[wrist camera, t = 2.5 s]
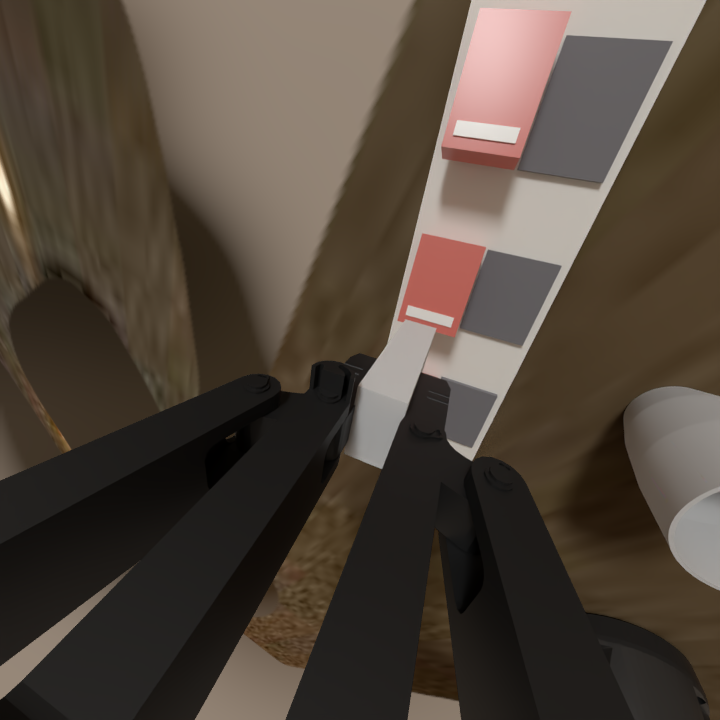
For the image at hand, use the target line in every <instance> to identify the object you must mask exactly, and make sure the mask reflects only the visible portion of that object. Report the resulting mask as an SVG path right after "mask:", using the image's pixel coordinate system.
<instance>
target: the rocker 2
mask: <svg viewBox="0 0 720 720" xmlns="http://www.w3.org/2000/svg"><path fill="white" fill-rule="evenodd" d="M571 12H572V11H548V10H523V9H497V8H480V10H479V14H478V17H477V21H476V24H475V28H474V31H473V35H472V38H471V42H470V46H469V49H468V53H467V56H466V60H465V63H464V67H463V70H462V74H461V78H460V81H459V85H458V88H457V92H456V95H455V99H454V102H453V106H452V110H451V113H450V117H449V120H448V124H447V127H446V131H445V134H444V138H443V142H442V145H441V151H442V159H446V160H452V161H459V162H465V163H471V164H478V165H484V166H490V167H497V168H503V169H510V170H514V169H515V167H516V165H517V163H518V161H519V159H520V156H521V154H522V151H523V148H524V145H525V142H526V139H527V137H528V134H529V131H530V128H531V125H532V122H533V120H534V117H535V114H536V111H537V108H538V105H539V103H540V100H541V97H542V94H543V91H544V89H545V86H546V83H547V80H548V77H549V74H550V72H551V69H552V66H553V63H554V60H555V57H556V55H557V52H558V49H559V46H560V43H561V40H562V38H563V35H564V32H565V29H566V26H567V23H568V21H569V18H570V15H571Z"/></svg>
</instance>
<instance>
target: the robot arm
mask: <svg viewBox="0 0 720 720" xmlns="http://www.w3.org/2000/svg"><path fill="white" fill-rule="evenodd" d="M436 329H437V328H434V327H431V326H427V325H424V324H420V323H417V322H413V321H410V320H406V319H405V321H404V322H403V324H402V325H401V326H400V328H399V329H398V331H397V332H396V333H395V335H394V336H393V338H392V339H391V340H390V342H389V343H388V345H387V346H386V347H385V349H384V350H383V352H382V353H381V354H380V356H379V357H378V359H376V358H373V357H370V356H367V355H364V354H361V353H360V354H357V355H354V356H352V357H350V358H349V359H348V360H347V361H346V362H345V364H343V363H340V362H336V361H321V362H317V363H315V364H313V365H312V370H311V379H310V388H309V390H308V391H307V392H306V393H303V394H302V393H291V392H284V391H281V385H280V382H279V381H278V380H277V379H276V378H274V377H272V376H269V375H265V374H250V375H247V376H244V377H241V378H239V379H236V380H234V381H232V382H229V383H227V384H225V385H222V386H220V387H218V388H215V389H213V390H211V391H208V392H206V393H204V394H201V395H199V396H197V397H194V398H192V399H190V400H187V401H185V402H183V403H180V404H178V405H176V406H173V407H171V408H169V409H166V410H164V411H162V412H159V413H157V414H155V415H152V416H150V417H148V418H145V419H143V420H141V421H138V422H136V423H134V424H132V425H129V426H127V427H124V428H122V429H120V430H118V431H115V432H113V433H110V434H108V435H106V436H103V437H101V438H99V439H96V440H94V441H92V442H89V443H87V444H85V445H82V446H80V447H78V448H75V449H73V450H71V451H68V452H66V453H64V454H61V455H59V456H57V457H54V458H52V459H50V460H47V461H45V462H43V463H40V464H38V465H36V466H33V467H31V468H29V469H27V470H24V471H22V472H19V473H17V474H15V475H13V476H10V477H8V478H5V479H3V480H1V481H0V666H1V665H2V664H4V663H5V662H6V661H7V660H9V659H10V658H12V657H13V656H14V655H16V654H17V653H18V652H20V651H21V650H22V649H24V648H25V647H26V646H28V645H29V644H30V643H31V642H33V641H34V640H35V639H36V638H38V637H39V636H41V635H42V634H43V633H45V632H46V631H47V630H49V629H50V628H51V627H53V626H54V625H55V624H56V623H58V622H59V621H61V620H62V619H63V618H65V617H66V616H67V615H69V614H70V613H71V612H72V611H74V610H75V609H76V608H77V607H79V606H80V605H82V604H83V603H84V602H86V601H87V600H88V599H90V598H91V597H92V596H94V595H95V594H96V593H98V592H99V591H100V590H102V589H103V588H104V587H106V586H107V585H108V584H109V583H111V582H112V581H113V580H115V579H116V578H117V577H119V576H120V575H121V574H123V573H124V572H125V571H126V570H128V569H129V568H131V567H132V566H133V565H134V564H136V563H137V562H138V563H137V564H136V565H135V566H134V567H133V568H132V570H130V571H129V573H128V574H126V575H125V576H124V578H123V579H122V580H121V581H120V582H119V583H118V584H117V585H116V586H115V587H114V588H113V589H112V590H111V591H110V592H109V593H108V594H107V595H106V596H105V597H104V598H103V599H102V600H101V601H100V602H99V603H98V604H97V605H96V606H95V607H94V608H93V609H92V610H91V611H90V612H89V613H88V614H87V615H86V616H85V617H84V618H83V619H82V620H81V621H80V622H79V623H78V624H77V625H76V626H75V627H74V628H73V629H72V630H71V631H70V632H69V633H68V634H67V635H66V636H65V637H64V639H62V640H61V642H60V643H59V644H58V645H57V646H56V647H55V648H54V649H53V650H52V651H51V652H50V653H49V654H48V655H47V656H46V657H45V658H44V659H43V660H42V661H41V662H40V663H39V664H38V665H37V666H36V667H35V668H34V669H33V670H32V671H31V672H30V673H29V674H28V675H27V676H26V677H25V678H24V679H23V680H22V681H21V682H20V683H19V684H18V685H17V686H16V687H15V688H13V689H12V690H11V691H10V692H9V693H8V694H7V695H6V696H5V697H3V698H2V699H1V700H0V720H195V718H196V716H197V715H198V713H199V711H200V709H201V707H202V706H203V704H204V702H205V700H206V699H207V697H208V695H209V693H210V691H211V690H212V688H213V686H214V685H215V683H216V681H217V679H218V677H219V675H220V674H221V672H222V670H223V669H224V667H225V665H226V663H227V661H228V660H229V658H230V656H231V654H232V652H233V651H234V649H235V647H236V645H237V644H238V642H239V640H240V638H241V636H242V635H243V633H244V631H245V629H246V628H247V626H248V624H249V622H250V620H251V619H252V617H253V615H254V613H255V612H256V610H257V608H258V606H259V604H260V603H261V601H262V599H263V597H264V596H265V594H266V592H267V590H268V588H269V587H270V585H271V583H272V581H273V580H274V578H275V576H276V574H277V572H278V571H279V569H280V567H281V565H282V564H283V562H284V560H285V558H286V556H287V555H288V553H289V551H290V549H291V548H292V546H293V544H294V542H295V540H296V539H297V537H298V535H299V533H300V532H301V530H302V528H303V526H304V524H305V523H306V521H307V519H308V517H309V516H310V514H311V512H312V510H313V508H314V507H315V505H316V503H317V501H318V500H319V498H320V496H321V494H322V492H323V491H324V489H325V487H326V485H327V484H328V482H329V480H330V478H331V476H332V475H333V473H334V471H335V469H336V468H337V466H338V462H339V458H340V453H341V451H342V450H343V448H344V446H345V445H346V447H345V451H344V454H346V455H349V456H351V457H354V458H356V459H358V460H361V461H363V462H366V463H368V464H370V465H373V466H375V467H378V468H380V469H382V470H381V473H380V476H379V478H378V481H377V483H376V486H375V489H374V491H373V494H372V496H371V499H370V502H369V504H368V507H367V509H366V512H365V515H364V517H363V520H362V522H361V525H360V528H359V530H358V533H357V535H356V538H355V541H354V543H353V546H352V548H351V551H350V554H349V556H348V559H347V561H346V564H345V567H344V569H343V572H342V574H341V577H340V580H339V582H338V585H337V587H336V590H335V592H334V595H333V598H332V600H331V603H330V605H329V608H328V611H327V613H326V616H325V618H324V621H323V624H322V626H321V629H320V631H319V634H318V637H317V639H316V642H315V644H314V647H313V650H312V652H311V655H310V657H309V660H308V663H307V665H306V668H305V670H304V673H303V676H302V679H301V681H300V683H299V686H298V689H297V691H296V694H295V696H294V699H293V702H292V704H291V707H290V709H289V712H288V715H287V717H286V720H407V719H408V712H409V711H408V710H409V705H410V697H411V690H412V683H413V676H414V669H415V662H416V655H417V648H418V641H419V634H420V627H421V620H422V613H423V606H424V598H425V591H426V584H427V577H428V570H429V563H430V556H431V549H432V542H433V535H434V528H436V529H437V530H438V531H439V543H440V551H441V559H442V568H443V576H444V584H445V592H446V600H447V608H448V616H449V624H450V632H451V640H452V648H453V656H454V665H455V673H456V681H457V689H458V697H459V705H460V713H461V720H710V718H709V706H708V701H707V698H706V695H705V693H704V691H703V688H702V686H701V684H700V682H699V680H698V678H697V676H696V674H695V672H694V670H693V668H692V666H691V664H690V662H689V661H688V660H687V659H686V657H685V656H684V655H683V654H682V653H681V652H680V651H679V650H678V649H676V648H675V647H674V646H672V645H671V644H670V643H668V642H667V641H665V640H664V639H662V638H660V637H659V636H657V635H655V634H653V633H651V632H649V631H647V630H645V629H642V628H640V627H638V626H635V625H632V624H630V623H627V622H624V621H620V620H617V619H613V618H609V617H605V616H600V615H594V614H586V613H585V611H584V608H583V606H582V604H581V602H580V600H579V598H578V595H577V593H576V591H575V589H574V587H573V584H572V582H571V580H570V578H569V576H568V574H567V571H566V569H565V567H564V565H563V563H562V561H561V558H560V556H559V554H558V552H557V550H556V547H555V545H554V543H553V541H552V539H551V537H550V534H549V532H548V530H547V528H546V526H545V524H544V521H543V519H542V517H541V515H540V513H539V510H538V508H537V506H536V504H535V502H534V500H533V497H532V495H531V493H530V491H529V489H528V487H527V484H526V483H525V481H524V480H523V478H522V477H521V475H520V474H519V473H518V472H517V471H516V470H514V469H513V468H512V467H511V466H509V465H508V464H506V463H504V462H503V461H501V460H498V459H495V458H492V457H480V458H477V459H475V460H474V462H472V461H471V460H469V459H468V458H466V457H464V456H463V455H461V454H460V453H459V452H457V451H456V450H455V449H454V448H453V447H452V446H451V445H450V444H449V442H448V441H447V436H446V432H445V424H446V417H447V411H448V404H449V397H450V391H451V389H450V387H449V385H448V383H447V381H446V380H443V379H440V378H437V377H434V376H431V375H428V374H425V373H422V372H423V368H424V365H425V362H426V359H427V356H428V353H429V350H430V347H431V344H432V341H433V338H434V335H435V332H436ZM233 433H235V436H233V437H232V438H229V439H225V438H226V437H228V436H229V435H231V434H233Z"/></svg>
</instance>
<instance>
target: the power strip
mask: <svg viewBox="0 0 720 720" xmlns="http://www.w3.org/2000/svg"><path fill="white" fill-rule="evenodd" d="M705 2H706V0H471V5H470V9H469V13H468V17H467V21H466V25H465V29H464V33H463V37H462V41H461V45H460V49H459V54H458V58H457V62H456V66H455V70H454V74H453V78H452V82H451V86H450V90H449V94H448V99H447V103H446V107H445V111H444V115H443V119H442V123H441V127H440V131H439V135H438V139H437V143H436V148H435V152H434V156H433V160H432V164H431V168H430V172H429V176H428V180H427V184H426V188H425V192H424V197H423V201H422V205H421V209H420V213H419V217H418V221H417V225H416V229H415V233H414V237H413V241H412V246H411V250H410V254H409V258H408V262H407V266H406V270H405V274H404V278H403V282H402V286H401V290H400V295H399V299H398V303H397V307H396V311H395V315H394V319H393V323H392V327H391V331H390V335H389V339H388V343H389V342H390V340H391V339H392V338H393V336H394V335H395V333H396V332H397V331H398V329H399V328H400V326H401V325H402V324H403V322H400V321H397V320H398V316H399V313H400V309H401V306H402V302H403V299H404V295H405V292H406V288H407V285H408V281H409V278H410V274H411V271H412V267H413V264H414V260H415V257H416V253H417V250H418V246H419V243H420V239H421V236H422V233H424V234H429V235H433V236H438V237H442V238H447V239H451V240H456V241H461V242H465V243H470V244H474V245H479V246H484V247H486V250H485V253H484V255H483V258H482V261H481V264H480V267H479V270H478V272H477V275H476V278H475V281H474V284H473V287H472V290H471V292H470V295H469V298H468V301H467V304H466V307H465V309H464V312H463V315H462V318H461V321H460V324H459V327H458V329H457V332H456V335H455V338H454V337H451V336H448V335H444V334H441V333H437V332H435V335H434V338H433V341H432V344H431V347H430V350H429V353H428V356H427V359H426V362H425V365H424V368H423V372H422V373H426V374H429V375H432V376H435V377H438V378H440V379H443V380H446V381H447V383H448V385H449V387H450V389H451V391H450V397H449V404H448V411H447V417H446V424H445V432H446V436H447V441H448V442H449V444H450V445H451V446H452V447H453V448H454V449H455V450H456V451H457V452H459V453H460V454H461V455H463V456H464V457H466V458H468V459H469V460H471V461H472V460H473V458H474V456H475V454H476V452H477V450H478V448H479V446H480V444H481V442H482V440H483V438H484V436H485V434H486V432H487V430H488V428H489V426H490V424H491V423H492V421H493V419H494V417H495V415H496V413H497V411H498V409H499V407H500V405H501V403H502V401H503V399H504V397H505V395H506V393H507V391H508V389H509V387H510V385H511V383H512V381H513V379H514V377H515V375H516V373H517V371H518V369H519V367H520V366H521V364H522V362H523V360H524V358H525V356H526V354H527V352H528V350H529V348H530V346H531V344H532V342H533V340H534V338H535V336H536V334H537V332H538V330H539V328H540V326H541V324H542V322H543V320H544V318H545V316H546V314H547V312H548V310H549V309H550V307H551V305H552V303H553V301H554V299H555V297H556V295H557V293H558V291H559V289H560V287H561V285H562V283H563V281H564V279H565V277H566V275H567V273H568V271H569V269H570V267H571V265H572V263H573V261H574V259H575V257H576V255H577V253H578V252H579V250H580V248H581V246H582V244H583V242H584V240H585V238H586V236H587V234H588V232H589V230H590V228H591V226H592V224H593V222H594V220H595V218H596V216H597V214H598V212H599V210H600V208H601V206H602V204H603V202H604V200H605V198H606V196H607V195H608V193H609V191H610V189H611V187H612V185H613V183H614V181H615V179H616V177H617V175H618V173H619V171H620V169H621V167H622V165H623V163H624V161H625V159H626V157H627V155H628V153H629V151H630V149H631V147H632V145H633V143H634V141H635V139H636V138H637V136H638V134H639V132H640V130H641V128H642V126H643V124H644V122H645V120H646V118H647V116H648V114H649V112H650V110H651V108H652V106H653V104H654V102H655V100H656V98H657V96H658V94H659V92H660V90H661V88H662V86H663V84H664V82H665V81H666V79H667V77H668V75H669V73H670V71H671V69H672V67H673V65H674V63H675V61H676V59H677V57H678V55H679V53H680V51H681V49H682V47H683V45H684V43H685V41H686V39H687V37H688V35H689V33H690V31H691V29H692V27H693V25H694V24H695V22H696V20H697V18H698V16H699V14H700V12H701V10H702V8H703V6H704V4H705ZM480 8H497V9H523V10H548V11H572V12H571V15H570V18H569V21H568V23H567V26H566V29H565V32H564V35H563V38H562V40H561V43H560V46H559V49H558V52H557V55H556V57H555V60H554V63H553V66H552V69H551V72H550V74H549V77H548V80H547V83H546V86H545V89H544V91H543V94H542V97H541V100H540V103H539V105H538V108H537V111H536V114H535V117H534V120H533V122H532V125H531V128H530V131H529V134H528V137H527V139H526V142H525V145H524V148H523V151H522V154H521V156H520V159H519V161H518V163H517V165H516V167H515V169H514V170H510V169H503V168H497V167H490V166H484V165H478V164H471V163H465V162H459V161H452V160H446V159H442V151H441V145H442V142H443V138H444V134H445V131H446V127H447V124H448V120H449V117H450V113H451V110H452V106H453V102H454V99H455V95H456V92H457V88H458V85H459V81H460V78H461V74H462V70H463V67H464V63H465V60H466V56H467V53H468V49H469V46H470V42H471V38H472V35H473V31H474V28H475V24H476V21H477V17H478V14H479V10H480ZM387 345H388V344H387Z"/></svg>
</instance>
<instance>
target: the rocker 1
mask: <svg viewBox="0 0 720 720" xmlns="http://www.w3.org/2000/svg"><path fill="white" fill-rule="evenodd" d="M485 250H486V247H484V246H479V245H474V244H470V243H465V242H461V241H456V240H451V239H447V238H442V237H438V236H433V235H429V234H424V233H422V236H421V239H420V243H419V246H418V250H417V253H416V257H415V260H414V264H413V267H412V271H411V274H410V278H409V281H408V285H407V288H406V292H405V295H404V299H403V302H402V306H401V309H400V313H399V316H398V320H397V321H400V322H404V321H405V319H406V320H410V321H413V322H417V323H420V324H424V325H427V326H431V327H434V328H437V329H436V332H437V333H441V334H444V335H448V336H451V337H454V338H455V335H456V332H457V329H458V327H459V324H460V321H461V318H462V315H463V312H464V309H465V307H466V304H467V301H468V298H469V295H470V292H471V290H472V287H473V284H474V281H475V278H476V275H477V272H478V270H479V267H480V264H481V261H482V258H483V255H484V253H485Z"/></svg>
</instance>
